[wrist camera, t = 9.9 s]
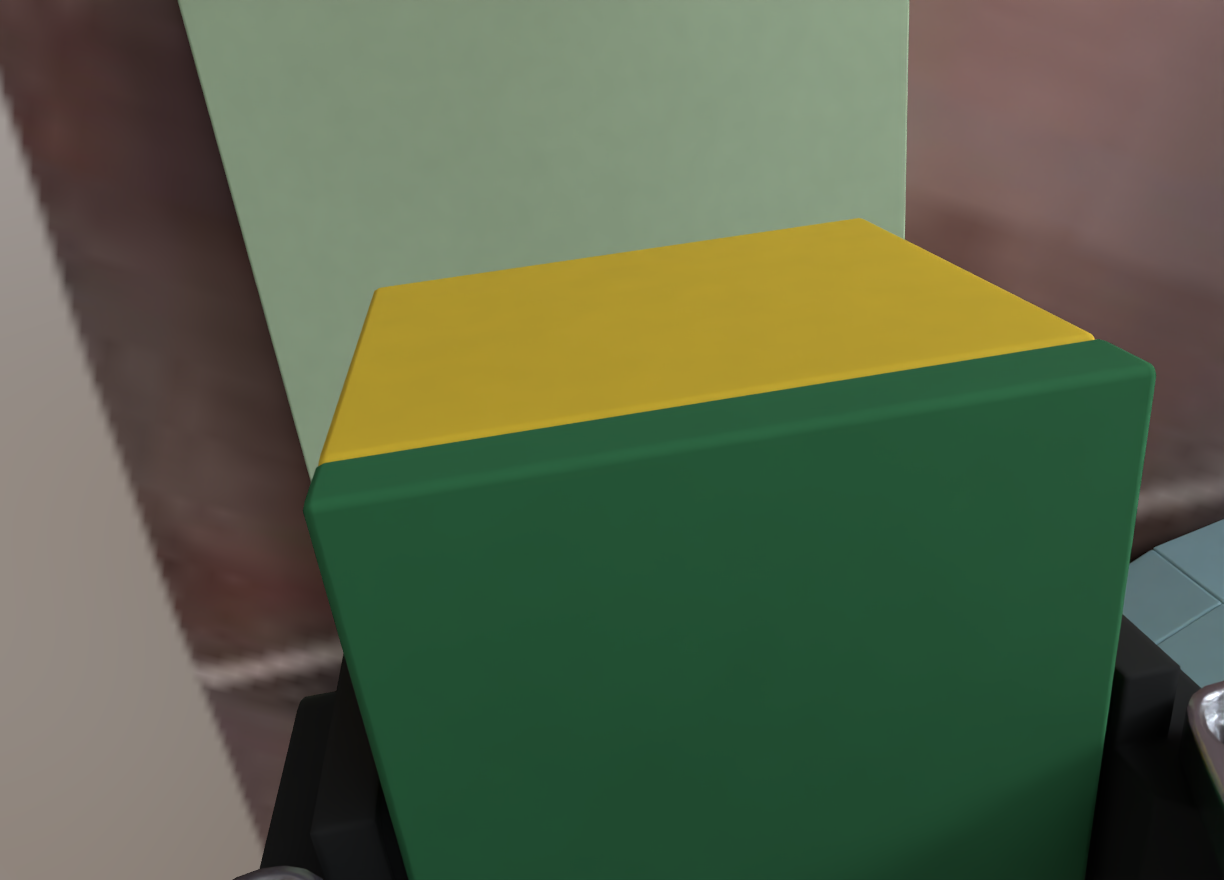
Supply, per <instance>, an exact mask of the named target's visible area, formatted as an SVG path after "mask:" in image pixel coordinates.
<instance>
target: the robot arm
mask: <svg viewBox="0 0 1224 880" xmlns="http://www.w3.org/2000/svg"><path fill="white" fill-rule="evenodd" d="M1180 667H1181V666H1180V665H1178V664H1177V663H1176V662H1175V661H1174V660H1173V659H1172V658H1171V657H1170V656H1169V655H1167V654H1166V653H1165V652H1164V651H1163V650H1162V649H1161V648H1160V647H1159V646H1158V645H1156V644H1155V643H1154V642H1153V641H1152V640H1151V639H1150V638H1149V637H1148V636H1146V635H1145V634H1144V633H1143V632H1142V631H1141V630H1140V629H1139V628H1138V627H1137V626H1135V625H1134V624H1133V623H1132V622H1131V621H1130V620H1129V619H1128V618H1127V617H1126V616H1124V615H1123V614H1122V620H1121V627H1120V634H1119V641H1118V648H1117V655H1116V662H1115V669H1114V676H1113V683H1112V690H1111V697H1110V704H1109V711H1108V718H1107V725H1106V733H1105V740H1104V747H1103V754H1102V761H1101V768H1100V775H1099V782H1098V789H1097V796H1096V803H1095V810H1094V817H1093V824H1092V831H1091V838H1090V845H1089V852H1088V859H1087V866H1086V874H1085V880H1224V681H1221V682H1217V683H1213V684H1210V685H1206V686H1204V687H1203V688H1201V687H1200V686H1199V685H1198V684H1196V683H1195V682H1194V681H1193V680H1192V679H1191V678H1190V677H1189V676H1188V675H1187V674H1185V673H1184V672H1183V671H1182V670H1181V669H1180ZM233 880H408V877H407V873H406V870H405V866H404V863H403V859H402V856H401V852H400V849H399V845H398V842H397V838H396V835H395V831H394V828H393V824H392V821H391V817H390V814H389V810H388V807H387V803H386V800H385V796H384V793H383V789H382V786H381V782H380V779H379V775H378V772H377V768H376V765H375V761H374V758H373V754H372V751H371V747H370V744H369V740H368V737H367V733H366V730H365V726H364V723H363V719H362V716H361V712H360V709H359V705H358V702H357V698H356V695H355V691H354V688H353V684H352V681H351V677H350V674H349V670H348V667H347V663H346V660H345V656H344V654H343V659H342V665H341V670H340V675H339V681H338V686H337V691H335V692H330V693H324V694H319V695H313V696H308V697H305V698H303V699H302V700H301V702H300V704H299V707H298V710H297V714H296V718H295V722H294V727H293V731H292V735H291V739H290V744H289V748H288V752H287V756H286V760H285V765H284V769H283V773H282V777H281V781H280V786H279V790H278V794H277V798H276V802H275V807H274V811H273V815H272V819H271V823H270V828H269V832H268V836H267V840H266V844H265V849H264V853H263V857H262V861H261V865H260V869H258V870H256V871H253V872H250V873H247V874H245V875H242V876H239V877H236V878H235V879H233Z"/></svg>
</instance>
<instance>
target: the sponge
mask: <svg viewBox="0 0 1224 880" xmlns="http://www.w3.org/2000/svg"><path fill="white" fill-rule="evenodd" d="M1155 380H1156V372H1155V368H1154V367H1153V365H1152V364H1150V363H1148V362H1146V361H1144V360H1142V359H1141V358H1139V357H1137V356H1135V355H1133V354H1131V353H1129V352H1127V351H1125V350H1123V349H1121V348H1119V347H1117V346H1115V345H1113V344H1111V343H1109V342H1107V341H1104V340H1100V339H1096V340H1095V339H1094V337H1093V335H1092V334H1090V333H1088V332H1086V331H1084V330H1082V329H1080V328H1078V327H1076V326H1074V325H1072V324H1071V323H1069V322H1067V321H1065V320H1063V319H1061V318H1059V317H1057V316H1055V315H1053V314H1051V313H1049V312H1047V311H1045V310H1043V309H1041V308H1039V307H1037V306H1035V305H1033V304H1031V303H1029V302H1027V301H1025V300H1023V299H1021V298H1019V297H1017V296H1015V295H1013V294H1011V293H1009V292H1007V291H1005V290H1003V289H1001V288H999V287H997V286H995V285H993V284H991V283H989V282H987V281H985V280H983V279H981V278H979V277H977V276H975V275H973V274H971V273H969V272H967V271H966V270H964V269H962V268H960V267H958V266H956V265H954V264H952V263H950V262H948V261H946V260H944V259H942V258H940V257H938V256H936V255H934V254H932V253H930V252H928V251H926V250H924V249H922V248H920V247H918V246H916V245H914V244H912V243H910V242H908V241H906V240H904V239H902V238H900V237H898V236H896V235H894V234H892V233H890V232H888V231H886V230H884V229H882V228H880V227H878V226H876V225H874V224H872V223H870V222H868V221H866V220H864V219H861V218H856V219H849V220H842V221H835V222H828V223H821V224H814V225H807V226H801V227H794V228H787V229H780V230H773V231H766V232H759V233H752V234H746V235H739V236H732V237H725V238H718V239H711V240H704V241H697V242H691V243H684V244H677V245H670V246H663V247H656V248H649V249H643V250H636V251H629V252H622V253H615V254H608V255H601V256H594V257H588V258H581V259H574V260H567V261H560V262H553V263H546V264H539V265H533V266H526V267H519V268H512V269H505V270H498V271H491V272H484V273H478V274H471V275H464V276H457V277H450V278H443V279H436V280H430V281H423V282H416V283H409V284H402V285H395V286H388V287H381V288H378V289H377V290H375V291H374V294H373V297H372V300H371V303H370V306H369V309H368V312H367V315H366V318H365V321H364V324H363V327H362V330H361V333H360V336H359V339H358V342H357V346H356V349H355V352H354V355H353V358H352V361H351V364H350V367H349V370H348V373H347V376H346V379H345V382H344V385H343V388H342V391H341V394H340V397H339V400H338V403H337V406H336V409H335V412H334V415H333V418H332V421H331V424H330V428H329V431H328V434H327V437H326V440H325V443H324V446H323V449H322V452H321V455H320V458H319V464H318V467H316V469H315V472H314V475H313V478H312V481H311V484H310V487H309V490H308V493H307V496H306V499H305V503H304V508H303V513H304V516H305V520H306V523H307V527H308V530H309V534H310V537H311V541H312V544H313V548H314V551H315V555H316V558H317V562H318V565H319V569H320V572H321V576H322V579H323V583H324V586H325V590H326V593H327V597H328V600H329V604H330V607H331V611H332V614H333V618H334V621H335V625H336V628H337V632H338V635H339V639H340V642H341V646H342V649H343V653H344V656H345V660H346V663H347V667H348V670H349V674H350V677H351V681H352V684H353V688H354V691H355V695H356V698H357V702H358V705H359V709H360V712H361V716H362V719H363V723H364V726H365V730H366V733H367V737H368V740H369V744H370V747H371V751H372V754H373V758H374V761H375V765H376V768H377V772H378V775H379V779H380V782H381V786H382V789H383V793H384V796H385V800H386V803H387V807H388V810H389V814H390V817H391V821H392V824H393V828H394V831H395V835H396V838H397V842H398V845H399V849H400V852H401V856H402V859H403V863H404V866H405V870H406V873H407V877H408V880H1085V874H1086V866H1087V859H1088V852H1089V845H1090V838H1091V831H1092V824H1093V817H1094V810H1095V803H1096V796H1097V789H1098V782H1099V775H1100V768H1101V761H1102V754H1103V747H1104V740H1105V733H1106V725H1107V718H1108V711H1109V704H1110V697H1111V690H1112V683H1113V676H1114V669H1115V662H1116V655H1117V648H1118V641H1119V634H1120V627H1121V620H1122V613H1123V606H1124V599H1125V591H1126V584H1127V577H1128V570H1129V563H1130V556H1131V549H1132V542H1133V535H1134V528H1135V521H1136V514H1137V507H1138V500H1139V493H1140V486H1141V479H1142V472H1143V465H1144V458H1145V450H1146V443H1147V436H1148V429H1149V422H1150V415H1151V408H1152V401H1153V394H1154V387H1155Z"/></svg>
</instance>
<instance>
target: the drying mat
mask: <svg viewBox="0 0 1224 880" xmlns="http://www.w3.org/2000/svg"><path fill="white" fill-rule="evenodd" d="M178 4H179V7H180V11H181V15H182V18H183V22H184V26H185V29H186V33H187V36H188V40H189V44H190V47H191V51H192V54H193V58H194V62H195V65H196V69H197V72H198V76H199V80H200V83H201V87H202V91H203V94H204V98H205V101H206V105H207V109H208V112H209V116H210V119H211V123H212V127H213V130H214V134H215V138H216V141H217V145H218V148H219V152H220V156H221V159H222V163H223V166H224V170H225V174H226V177H227V181H228V184H229V188H230V192H231V195H232V199H233V203H234V206H235V210H236V213H237V217H238V221H239V224H240V228H241V231H242V235H243V239H244V242H245V246H246V250H247V253H248V257H249V260H250V264H251V268H252V271H253V275H254V278H255V282H256V286H257V289H258V293H259V297H260V300H261V304H262V307H263V311H264V315H265V318H266V322H267V325H268V329H269V333H270V336H271V340H272V343H273V347H274V351H275V354H276V358H277V362H278V365H279V369H280V372H281V376H282V380H283V383H284V387H285V390H286V394H287V398H288V401H289V405H290V409H291V412H292V416H293V419H294V423H295V427H296V430H297V434H298V437H299V441H300V445H301V448H302V452H303V455H304V459H305V463H306V466H307V470H308V474H309V477H310V481H312V478H313V475H314V472H315V469H316V467H318V464H319V458H320V455H321V452H322V449H323V446H324V443H325V440H326V437H327V434H328V431H329V428H330V424H331V421H332V418H333V415H334V412H335V409H336V406H337V403H338V400H339V397H340V394H341V391H342V388H343V385H344V382H345V379H346V376H347V373H348V370H349V367H350V364H351V361H352V358H353V355H354V352H355V349H356V346H357V342H358V339H359V336H360V333H361V330H362V327H363V324H364V321H365V318H366V315H367V312H368V309H369V306H370V303H371V300H372V297H373V294H374V291H375V290H377V289H378V288H381V287H388V286H395V285H402V284H409V283H416V282H423V281H430V280H436V279H443V278H450V277H457V276H464V275H471V274H478V273H484V272H491V271H498V270H505V269H512V268H519V267H526V266H533V265H539V264H546V263H553V262H560V261H567V260H574V259H581V258H588V257H594V256H601V255H608V254H615V253H622V252H629V251H636V250H643V249H649V248H656V247H663V246H670V245H677V244H684V243H691V242H697V241H704V240H711V239H718V238H725V237H732V236H739V235H746V234H752V233H759V232H766V231H773V230H780V229H787V228H794V227H801V226H807V225H814V224H821V223H828V222H835V221H842V220H849V219H856V218H861V219H864V220H866V221H868V222H870V223H872V224H874V225H876V226H878V227H880V228H882V229H884V230H886V231H888V232H890V233H892V234H894V235H896V236H898V237H900V238H902V239H904V240H905V194H906V141H907V88H908V36H909V0H178Z"/></svg>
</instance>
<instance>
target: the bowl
mask: <svg viewBox="0 0 1224 880" xmlns="http://www.w3.org/2000/svg"><path fill="white" fill-rule="evenodd" d="M1122 614H1123V615H1124V616H1126V617H1127V618H1128V619H1129V620H1130V621H1131V622H1132V623H1133V624H1134V625H1135V626H1137V627H1138V628H1139V629H1140V630H1141V631H1142V632H1143V633H1144V634H1145V635H1146V636H1148V637H1149V638H1150V639H1151V640H1152V641H1153V642H1154V643H1155V644H1156V645H1158V646H1159V647H1160V648H1161V649H1162V650H1163V651H1164V652H1165V653H1166V654H1167V655H1169V656H1170V657H1171V658H1172V659H1173V660H1174V661H1175V662H1176V663H1177V664H1178V665H1180V666H1181V667H1180V669H1181V670H1182V671H1183V672H1184V673H1185V674H1187V675H1188V676H1189V677H1190V678H1191V679H1192V680H1193V681H1194V682H1195V683H1196V684H1198V685H1199V686H1200V687H1201V688H1203V687H1204V686H1206V685H1210V684H1213V683H1217V682H1221V681H1224V519H1222V520H1220V521H1217V522H1215V523H1212V524H1210V525H1208V526H1205V527H1203V528H1200V529H1198V530H1195V531H1193V532H1190V533H1188V534H1185V535H1183V536H1180V537H1178V538H1176V539H1173V540H1171V541H1168V542H1166V543H1163V544H1161V545H1158V546H1156V547H1154V548H1153V550H1150V551H1148V552H1146V553H1145V554H1143V555H1142V556H1140V557H1139V558H1137V559H1136V560H1134V561H1133V562H1131V563H1130V564H1129V570H1128V577H1127V584H1126V591H1125V599H1124V606H1123V613H1122Z"/></svg>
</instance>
